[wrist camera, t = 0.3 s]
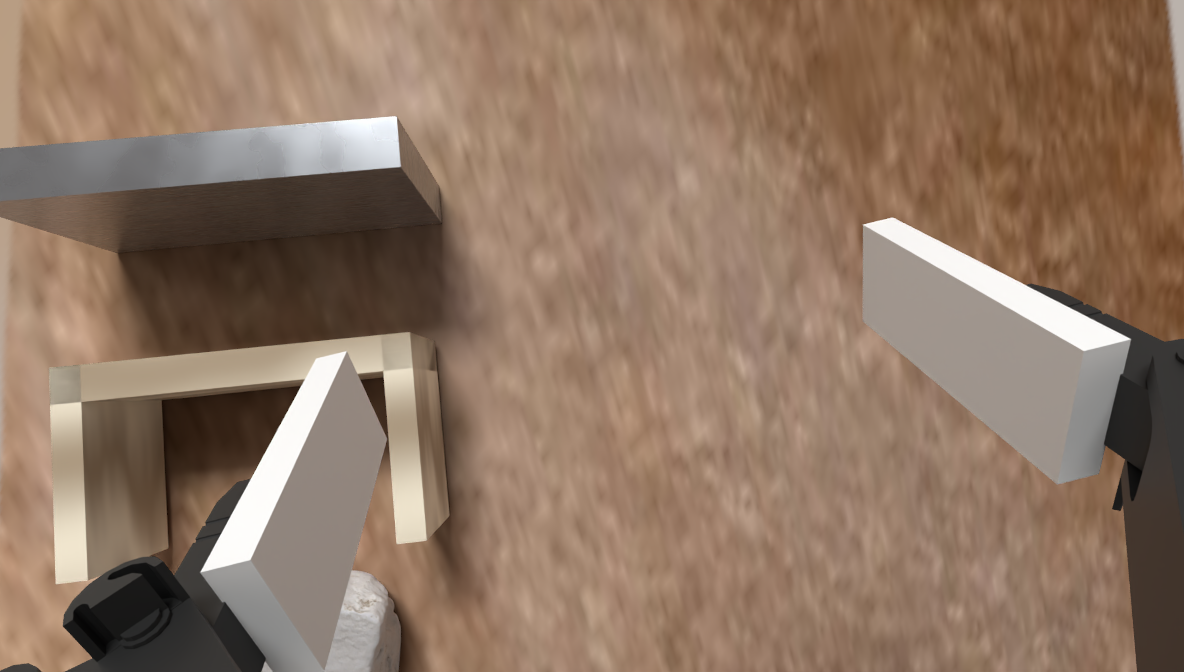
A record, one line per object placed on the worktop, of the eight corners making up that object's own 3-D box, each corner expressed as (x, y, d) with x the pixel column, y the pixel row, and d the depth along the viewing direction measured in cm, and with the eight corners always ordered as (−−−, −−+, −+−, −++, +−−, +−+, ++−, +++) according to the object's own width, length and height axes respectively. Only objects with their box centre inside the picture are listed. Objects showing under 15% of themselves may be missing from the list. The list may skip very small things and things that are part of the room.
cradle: (449, 515, 30) (426, 540, 25) (142, 551, 29) (55, 584, 24) (434, 341, 31) (409, 331, 26) (134, 371, 30) (48, 367, 25)
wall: (442, 223, 32) (400, 166, 24) (116, 252, 31) (-40, 204, 23) (438, 185, 32) (396, 116, 24) (115, 213, 31) (-41, 151, 23)
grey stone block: (252, 620, 33) (144, 693, 27) (260, 510, 32) (149, 564, 26) (413, 690, 30) (329, 788, 25) (429, 573, 29) (344, 649, 24)
